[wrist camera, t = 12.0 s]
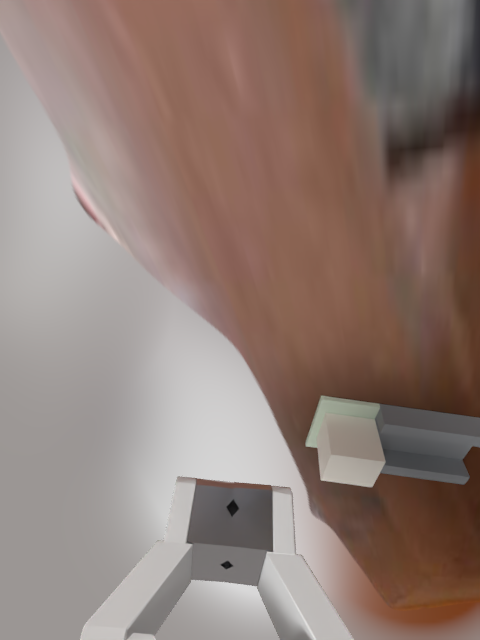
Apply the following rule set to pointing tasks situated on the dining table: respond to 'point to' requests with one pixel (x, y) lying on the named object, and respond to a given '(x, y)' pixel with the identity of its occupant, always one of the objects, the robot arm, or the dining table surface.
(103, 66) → the dining table surface
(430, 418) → the chute
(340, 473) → the block
